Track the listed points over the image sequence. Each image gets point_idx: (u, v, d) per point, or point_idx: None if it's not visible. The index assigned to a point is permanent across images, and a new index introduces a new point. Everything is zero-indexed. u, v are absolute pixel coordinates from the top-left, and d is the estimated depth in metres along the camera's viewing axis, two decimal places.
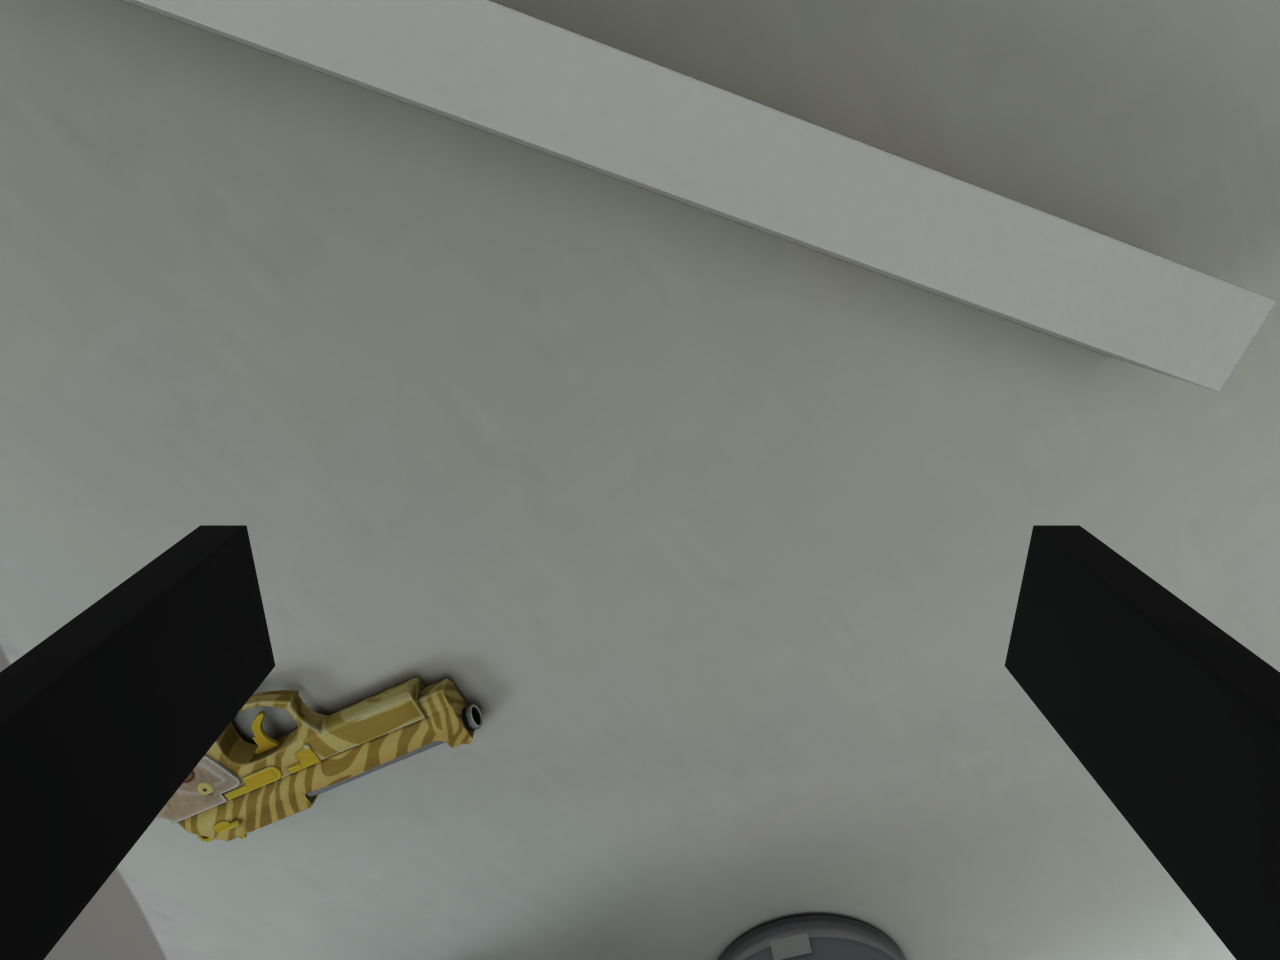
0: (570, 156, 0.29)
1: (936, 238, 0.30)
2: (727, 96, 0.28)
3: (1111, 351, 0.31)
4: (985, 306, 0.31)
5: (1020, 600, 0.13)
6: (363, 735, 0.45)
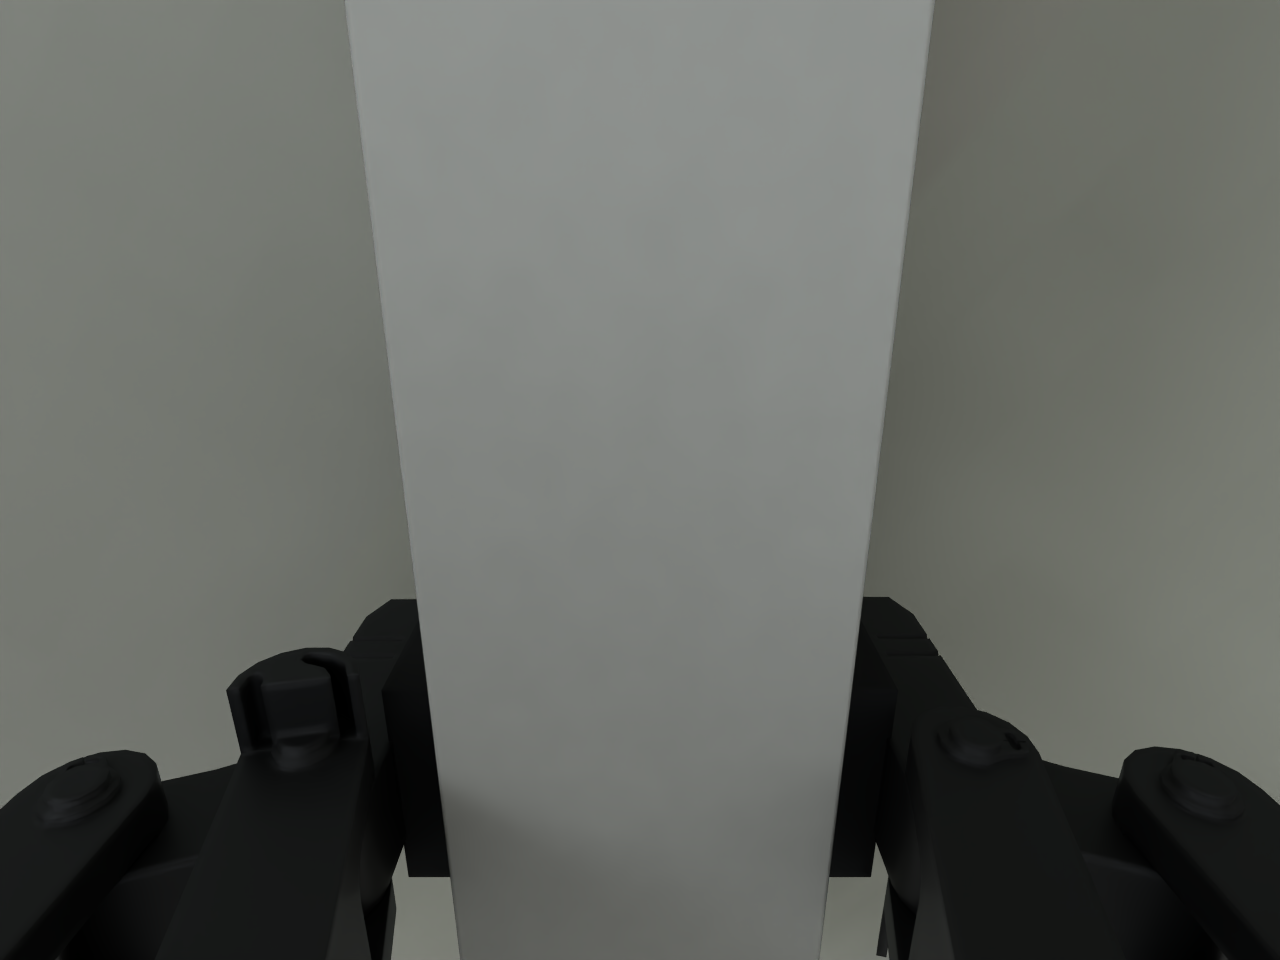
0: None
1: (606, 1, 0.05)
2: None
3: (462, 946, 0.08)
4: (401, 438, 0.06)
5: None
6: None
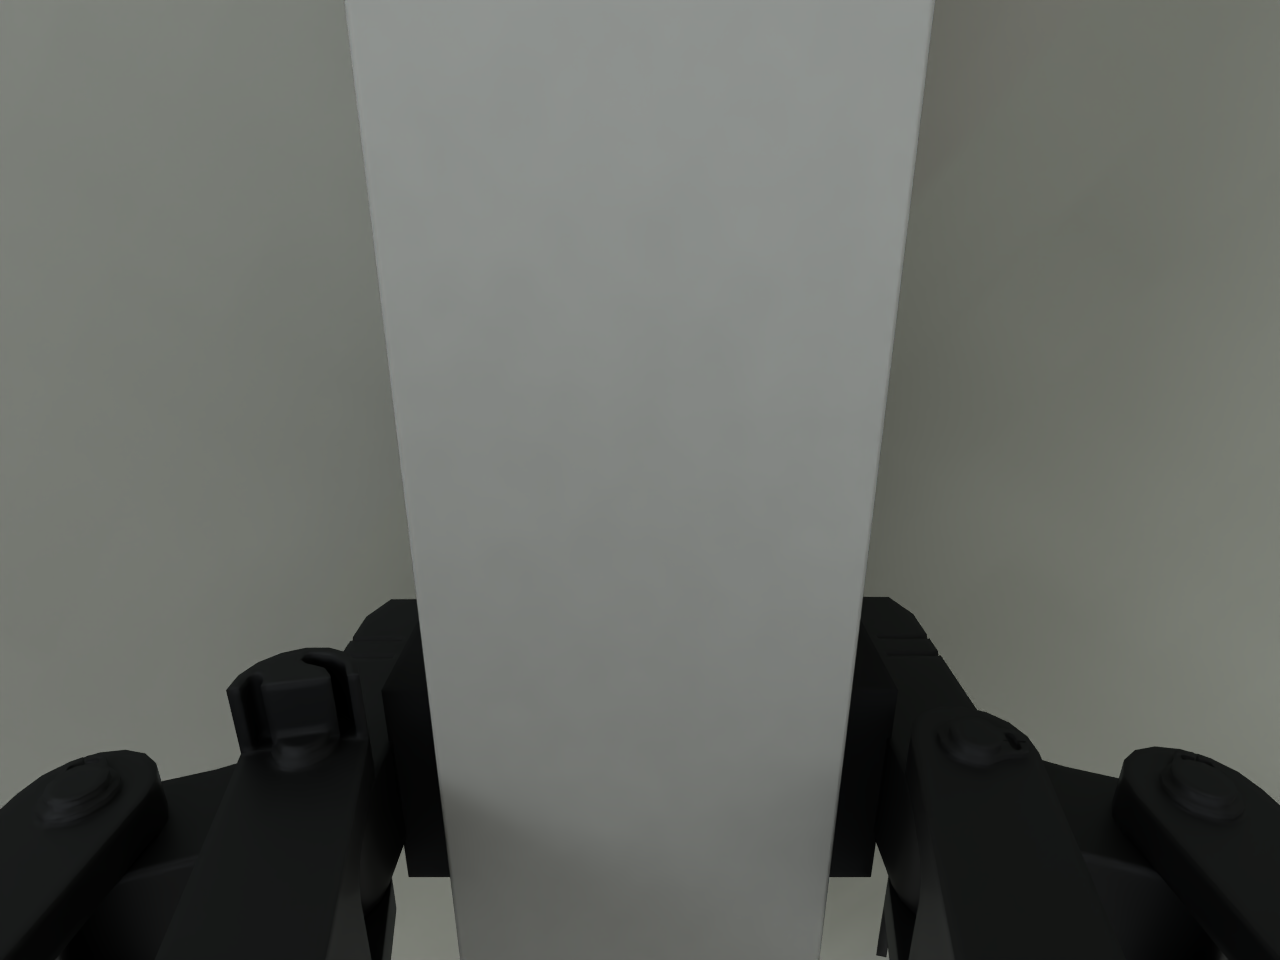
0: None
1: (606, 0, 0.05)
2: None
3: (462, 946, 0.08)
4: (401, 438, 0.06)
5: None
6: None
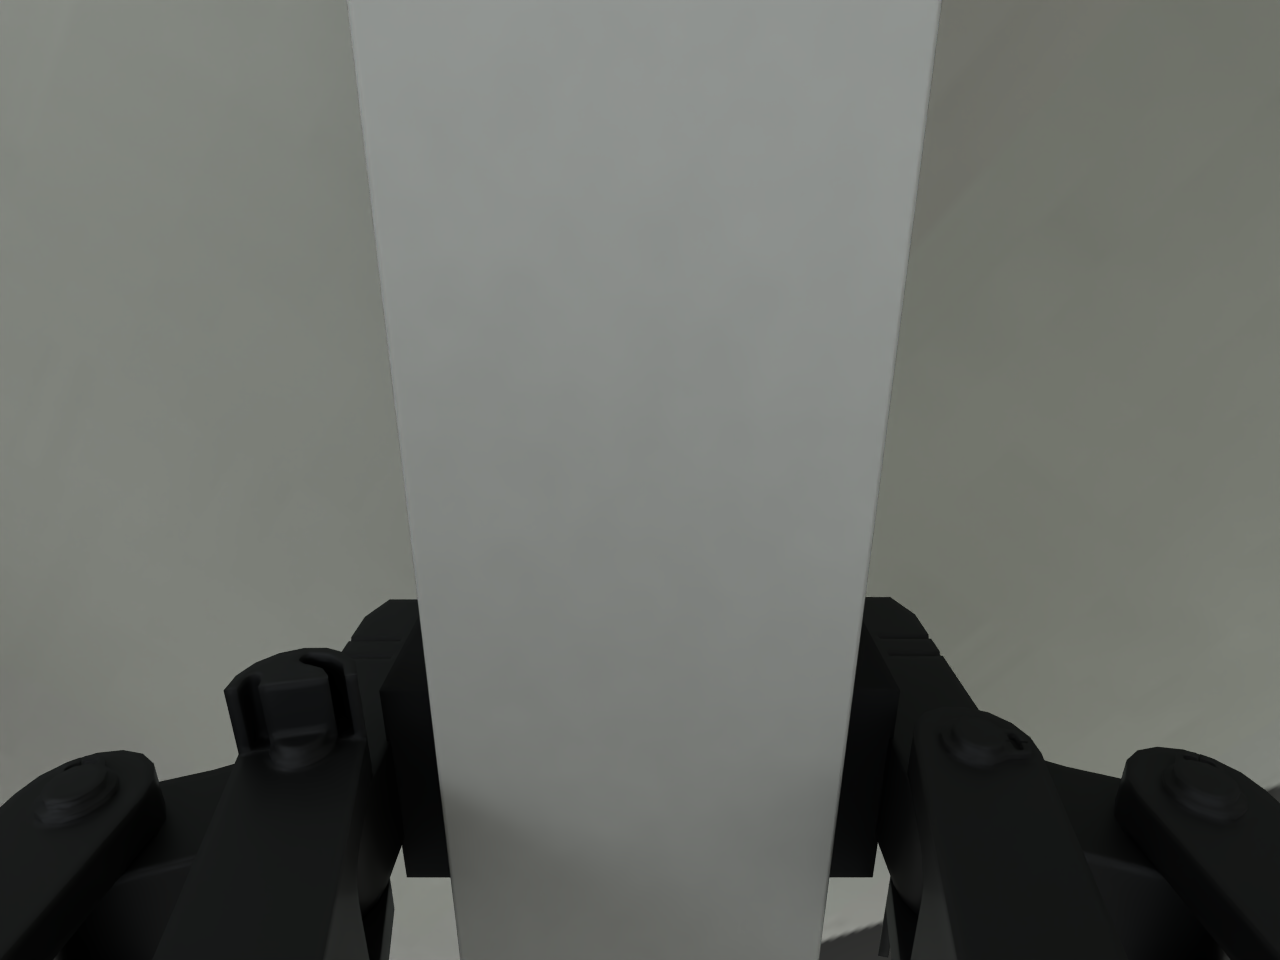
0: None
1: (610, 3, 0.05)
2: None
3: (462, 944, 0.08)
4: (402, 439, 0.06)
5: None
6: None
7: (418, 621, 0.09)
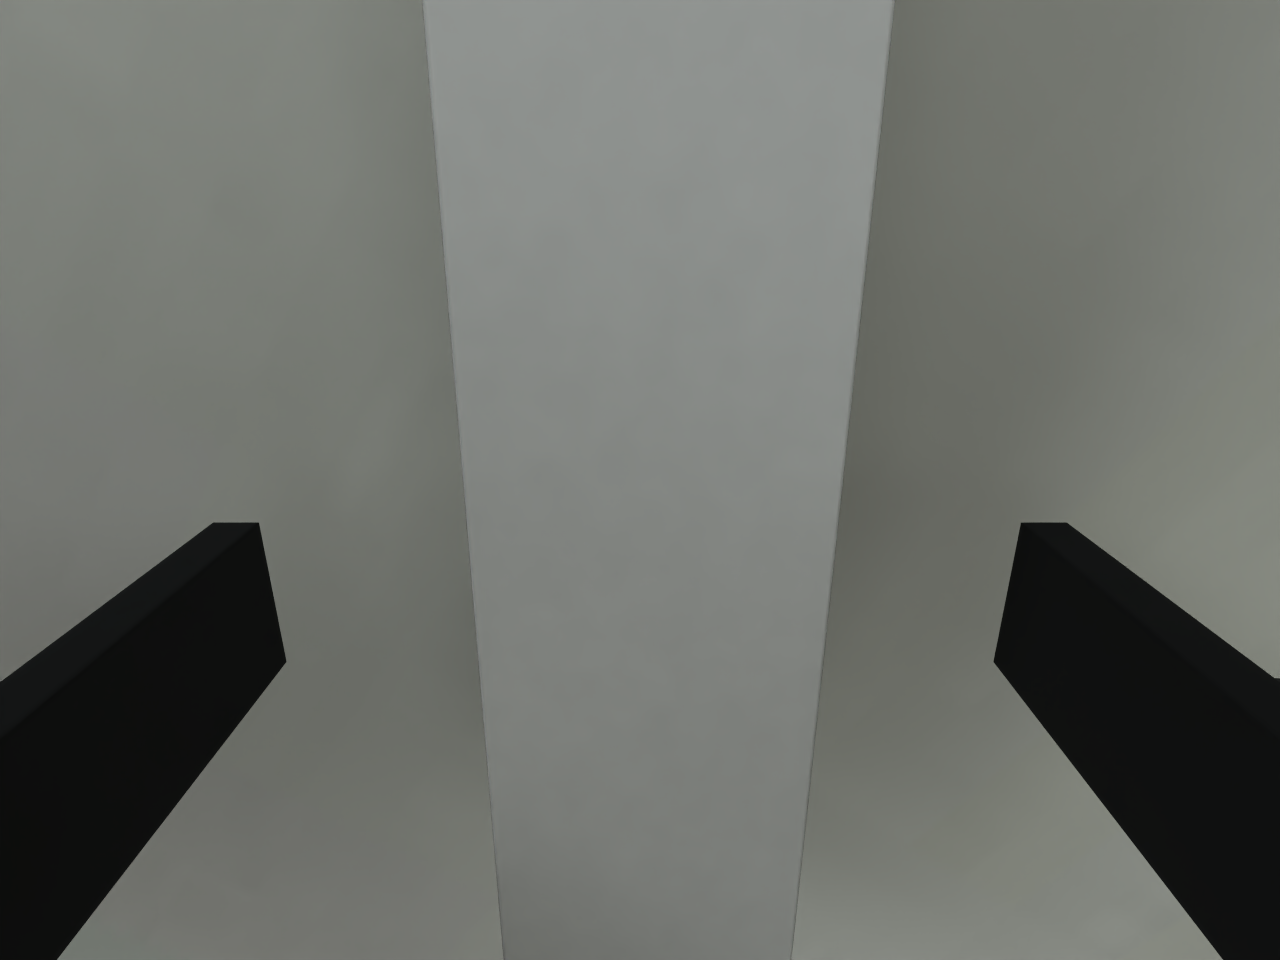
0: None
1: (631, 12, 0.06)
2: None
3: (495, 824, 0.10)
4: (457, 371, 0.07)
5: (1009, 596, 0.13)
6: None
7: None
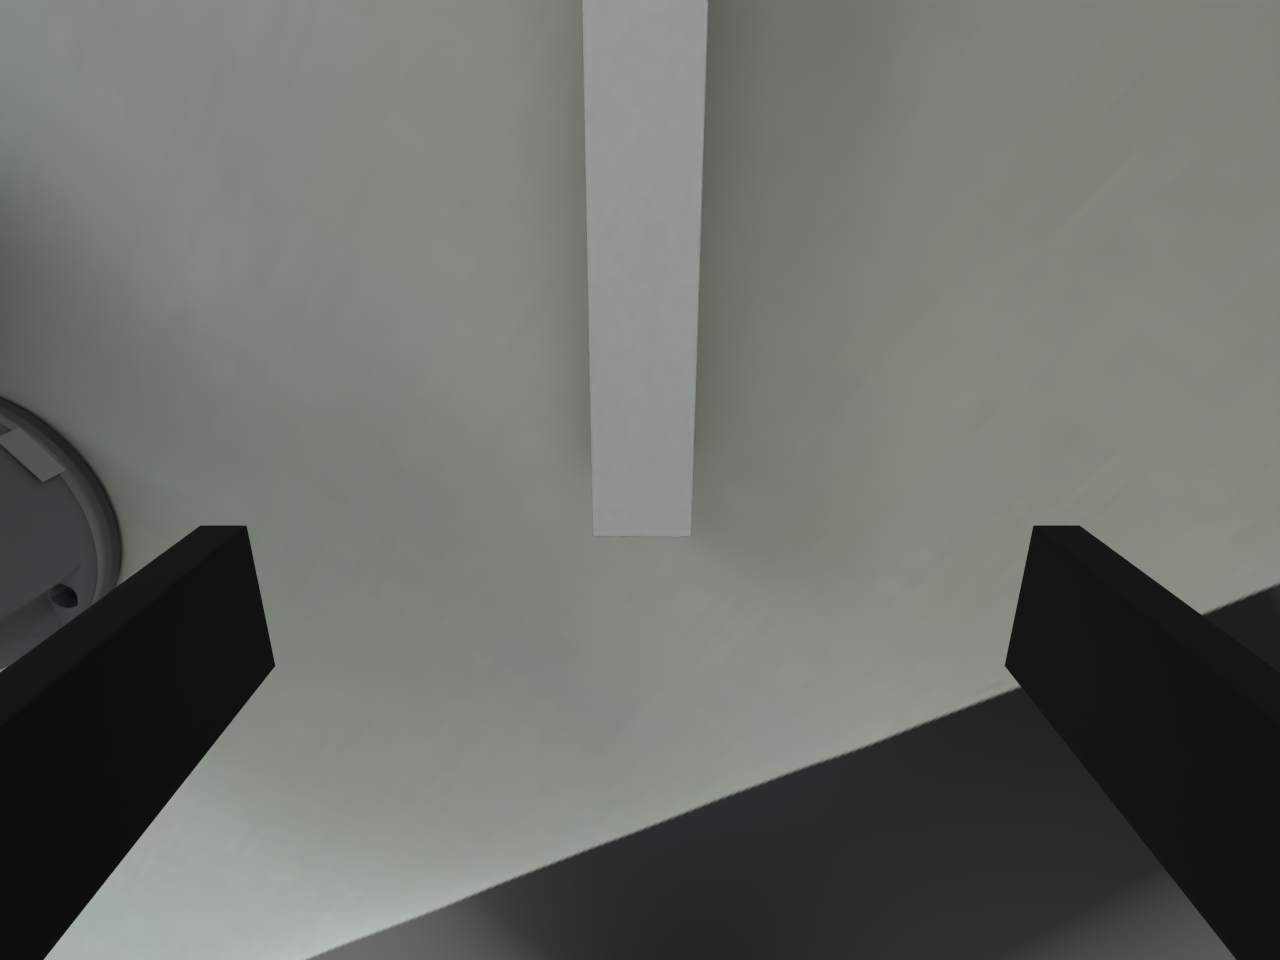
0: None
1: (637, 155, 0.25)
2: None
3: (591, 410, 0.29)
4: (588, 250, 0.27)
5: (1021, 599, 0.13)
6: None
7: None
